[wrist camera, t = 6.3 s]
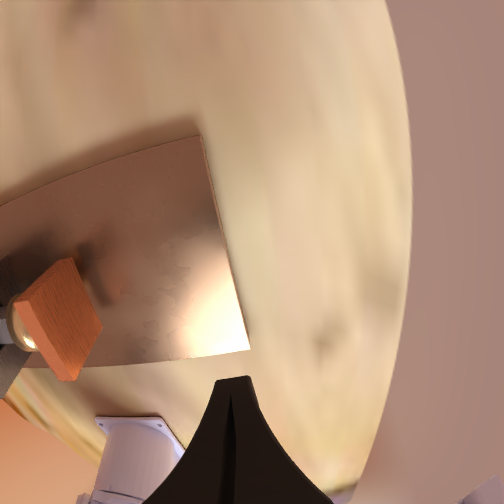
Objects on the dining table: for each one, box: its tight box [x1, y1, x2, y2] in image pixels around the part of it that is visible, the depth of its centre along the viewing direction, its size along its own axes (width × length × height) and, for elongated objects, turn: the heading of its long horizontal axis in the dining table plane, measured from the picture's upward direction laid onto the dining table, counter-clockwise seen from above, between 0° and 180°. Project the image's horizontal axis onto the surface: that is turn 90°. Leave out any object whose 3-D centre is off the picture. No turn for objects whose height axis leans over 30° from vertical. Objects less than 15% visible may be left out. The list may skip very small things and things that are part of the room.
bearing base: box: [0, 135, 250, 399], centre depth 14 cm, size 28×14×9 cm, turn 101°
